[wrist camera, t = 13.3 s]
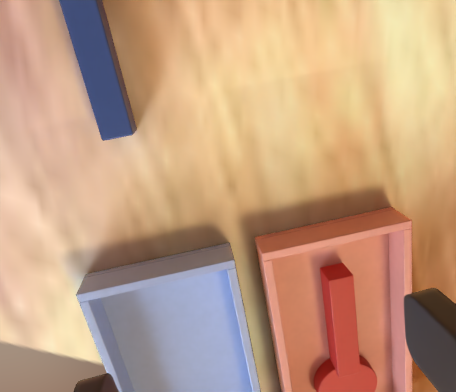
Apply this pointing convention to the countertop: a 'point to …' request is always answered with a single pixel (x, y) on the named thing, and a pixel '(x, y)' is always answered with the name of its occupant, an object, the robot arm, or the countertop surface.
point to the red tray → (363, 286)
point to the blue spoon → (99, 67)
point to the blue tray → (172, 324)
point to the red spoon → (342, 337)
